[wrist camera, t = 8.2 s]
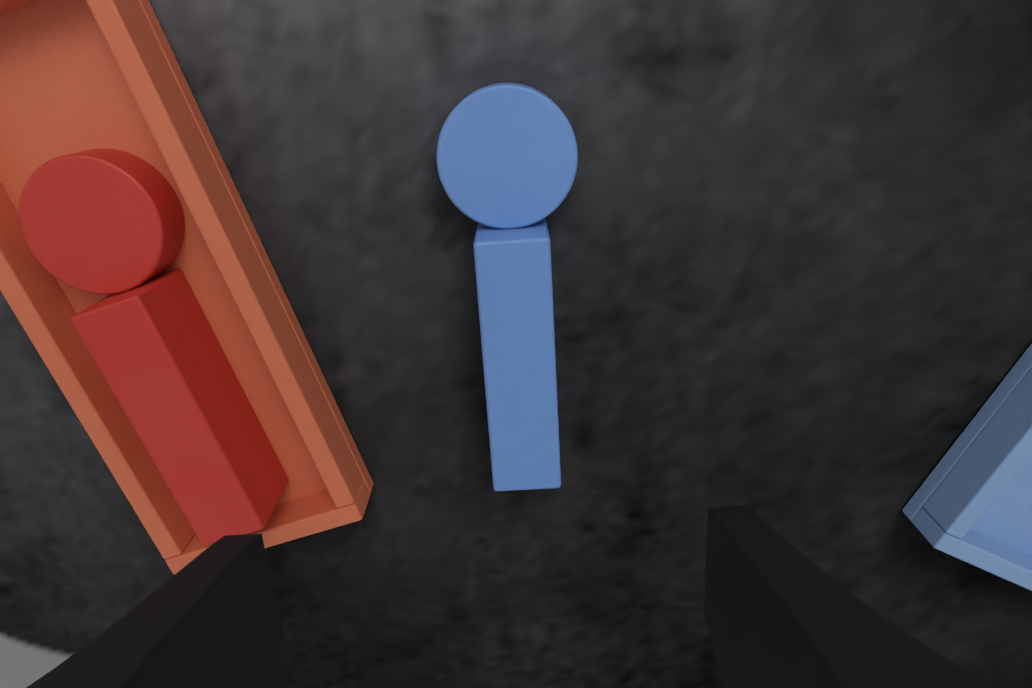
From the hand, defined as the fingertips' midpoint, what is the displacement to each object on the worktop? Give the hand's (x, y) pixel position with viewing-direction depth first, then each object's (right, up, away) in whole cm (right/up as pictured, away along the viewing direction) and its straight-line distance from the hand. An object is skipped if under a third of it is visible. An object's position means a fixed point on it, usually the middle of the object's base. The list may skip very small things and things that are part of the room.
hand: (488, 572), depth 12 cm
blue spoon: (0, +6, +6) cm, 8 cm away
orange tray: (-8, +5, +6) cm, 11 cm away
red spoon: (-8, +4, +6) cm, 10 cm away
